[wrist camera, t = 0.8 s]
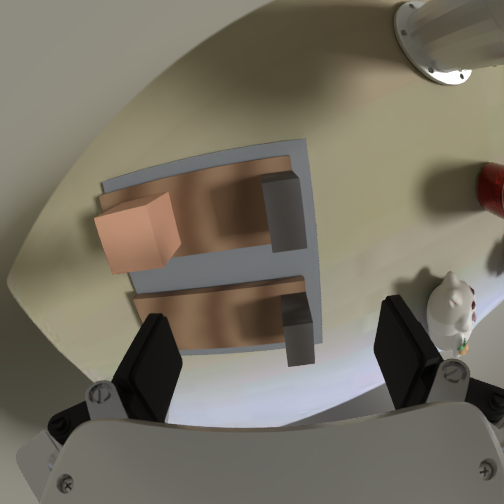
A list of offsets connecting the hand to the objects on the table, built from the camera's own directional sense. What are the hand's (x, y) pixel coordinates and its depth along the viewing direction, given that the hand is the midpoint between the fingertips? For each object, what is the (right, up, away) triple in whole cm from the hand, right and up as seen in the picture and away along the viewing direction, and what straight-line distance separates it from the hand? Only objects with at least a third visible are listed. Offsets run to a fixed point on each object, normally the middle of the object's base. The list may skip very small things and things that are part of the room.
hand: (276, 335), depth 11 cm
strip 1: (-7, +8, +19) cm, 21 cm away
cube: (-12, +7, +18) cm, 23 cm away
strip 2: (-5, -5, +24) cm, 25 cm away
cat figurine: (+28, -4, +24) cm, 37 cm away
